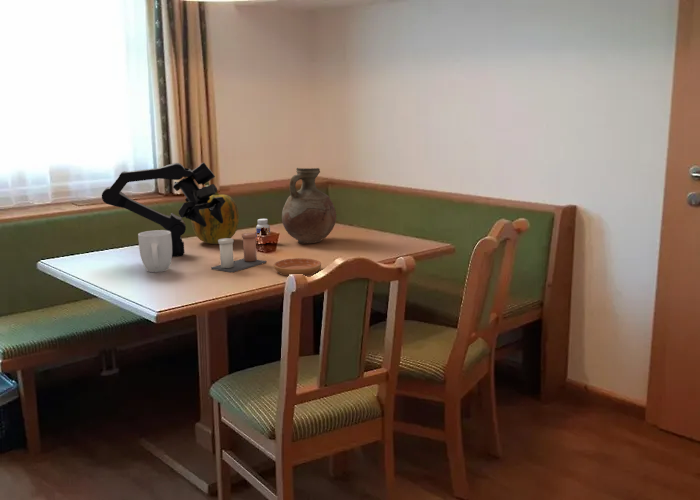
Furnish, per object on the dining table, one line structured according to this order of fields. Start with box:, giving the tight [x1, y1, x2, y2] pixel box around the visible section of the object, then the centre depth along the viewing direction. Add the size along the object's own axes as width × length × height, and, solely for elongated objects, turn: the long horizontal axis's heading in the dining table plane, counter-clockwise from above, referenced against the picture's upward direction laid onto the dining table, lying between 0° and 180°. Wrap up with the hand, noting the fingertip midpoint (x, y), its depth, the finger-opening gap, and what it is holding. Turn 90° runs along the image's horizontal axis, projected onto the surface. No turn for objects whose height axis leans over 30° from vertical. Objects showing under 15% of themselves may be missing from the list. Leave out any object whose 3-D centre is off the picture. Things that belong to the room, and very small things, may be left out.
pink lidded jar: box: [241, 232, 258, 262], centre depth 261 cm, size 5×5×9 cm
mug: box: [137, 229, 173, 273], centre depth 251 cm, size 15×11×13 cm
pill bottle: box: [255, 218, 271, 234], centre depth 294 cm, size 5×5×10 cm
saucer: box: [273, 257, 322, 276], centre depth 248 cm, size 16×16×3 cm
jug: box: [281, 167, 337, 245], centre depth 292 cm, size 22×22×30 cm
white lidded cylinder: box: [218, 237, 235, 268], centre depth 252 cm, size 5×5×9 cm
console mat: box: [210, 257, 267, 273], centre depth 258 cm, size 10×17×1 cm, turn 144°
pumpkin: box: [191, 181, 240, 245], centre depth 295 cm, size 19×19×25 cm
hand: (214, 224), depth 268 cm, fingers open, 8 cm apart
